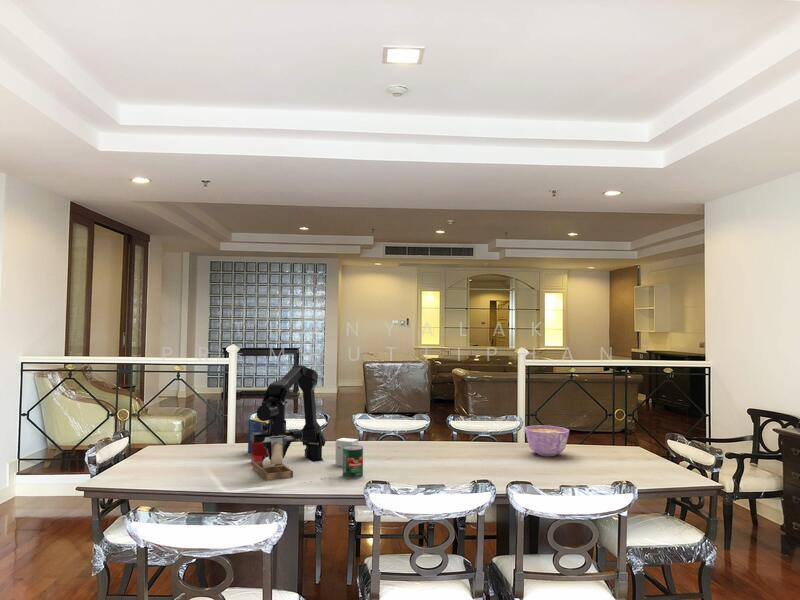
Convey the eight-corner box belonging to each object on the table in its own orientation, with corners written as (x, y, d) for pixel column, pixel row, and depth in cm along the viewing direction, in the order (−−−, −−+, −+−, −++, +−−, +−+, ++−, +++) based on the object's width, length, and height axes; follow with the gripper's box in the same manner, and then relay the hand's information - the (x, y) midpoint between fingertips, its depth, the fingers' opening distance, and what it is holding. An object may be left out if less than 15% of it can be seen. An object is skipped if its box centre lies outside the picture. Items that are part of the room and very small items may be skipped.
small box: (358, 464, 232) (358, 439, 233) (351, 467, 227) (352, 441, 228) (341, 462, 236) (342, 437, 236) (335, 465, 231) (335, 439, 231)
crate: (277, 468, 224) (277, 459, 224) (292, 480, 207) (292, 471, 207) (252, 471, 219) (253, 462, 219) (266, 483, 202) (267, 474, 202)
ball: (273, 467, 221) (273, 455, 221) (276, 470, 216) (277, 457, 217) (260, 469, 218) (260, 456, 219) (264, 472, 214) (264, 459, 214)
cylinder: (280, 460, 212) (280, 439, 213) (284, 463, 208) (284, 442, 209) (268, 462, 210) (269, 441, 211) (272, 464, 206) (272, 443, 207)
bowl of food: (575, 459, 245) (574, 433, 246) (529, 459, 246) (529, 432, 246) (562, 450, 265) (562, 425, 266) (520, 449, 266) (520, 424, 266)
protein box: (267, 449, 259) (267, 416, 260) (286, 455, 249) (286, 420, 250) (247, 453, 252) (248, 418, 253) (265, 458, 241) (266, 422, 242)
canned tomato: (352, 472, 220) (353, 444, 220) (367, 475, 215) (367, 447, 215) (338, 476, 214) (338, 447, 214) (352, 480, 209) (353, 450, 209)
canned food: (265, 468, 224) (266, 440, 225) (247, 467, 226) (248, 439, 227) (273, 464, 232) (274, 437, 233) (256, 462, 234) (256, 436, 234)
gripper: (294, 412, 222) (293, 452, 221) (247, 415, 213) (246, 456, 212) (303, 416, 212) (302, 457, 211) (254, 420, 203) (253, 463, 202)
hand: (276, 458), depth 209 cm, fingers closed on cylinder, 5 cm apart
